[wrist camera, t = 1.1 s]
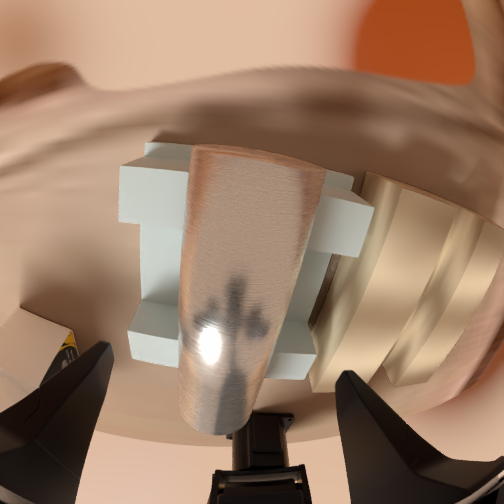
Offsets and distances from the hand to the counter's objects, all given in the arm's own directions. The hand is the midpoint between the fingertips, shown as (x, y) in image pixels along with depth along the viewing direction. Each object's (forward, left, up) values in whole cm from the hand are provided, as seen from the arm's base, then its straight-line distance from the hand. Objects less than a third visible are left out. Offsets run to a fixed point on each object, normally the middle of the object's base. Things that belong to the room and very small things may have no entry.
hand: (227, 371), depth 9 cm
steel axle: (0, 0, -3) cm, 3 cm away
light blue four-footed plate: (0, 0, -8) cm, 8 cm away
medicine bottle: (-12, +17, -8) cm, 22 cm away
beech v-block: (0, -12, -8) cm, 14 cm away
